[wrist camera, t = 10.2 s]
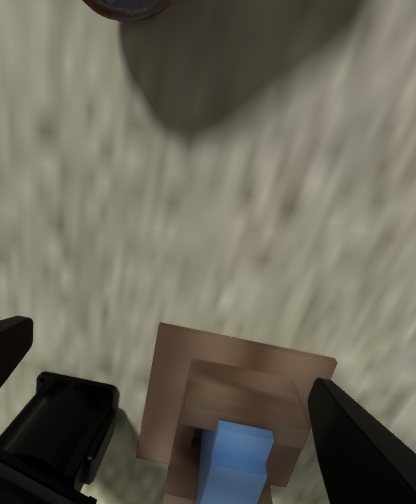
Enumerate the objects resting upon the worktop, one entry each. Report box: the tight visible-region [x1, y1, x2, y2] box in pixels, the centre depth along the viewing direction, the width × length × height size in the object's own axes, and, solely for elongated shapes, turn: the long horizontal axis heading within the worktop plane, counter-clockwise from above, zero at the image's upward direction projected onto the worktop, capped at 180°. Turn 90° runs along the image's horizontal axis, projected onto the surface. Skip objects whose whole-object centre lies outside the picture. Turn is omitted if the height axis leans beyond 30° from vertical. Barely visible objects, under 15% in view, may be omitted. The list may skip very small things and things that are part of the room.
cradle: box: [136, 322, 337, 504], centre depth 20 cm, size 14×14×5 cm
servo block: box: [195, 420, 274, 504], centre depth 19 cm, size 3×9×6 cm, turn 169°
